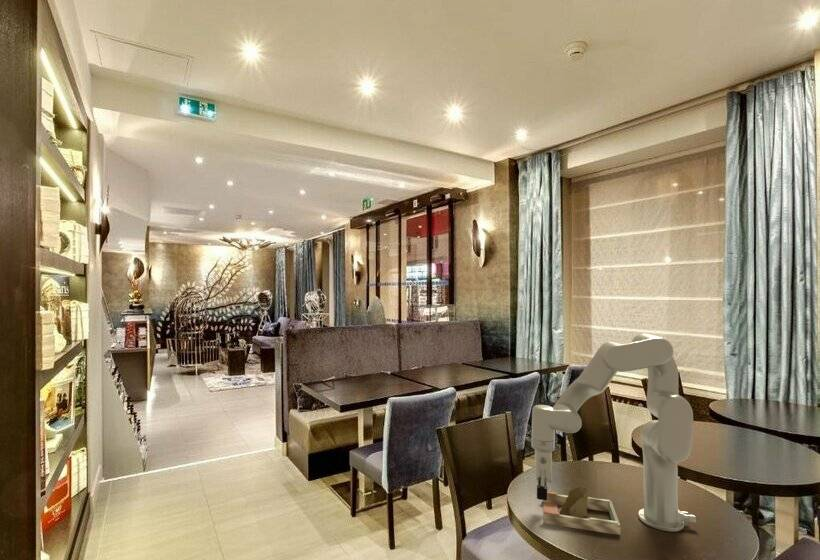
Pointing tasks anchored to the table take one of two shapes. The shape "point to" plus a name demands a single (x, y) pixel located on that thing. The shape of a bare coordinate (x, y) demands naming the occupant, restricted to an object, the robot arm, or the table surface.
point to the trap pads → (550, 506)
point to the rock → (575, 503)
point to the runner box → (585, 523)
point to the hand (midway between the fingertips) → (541, 498)
